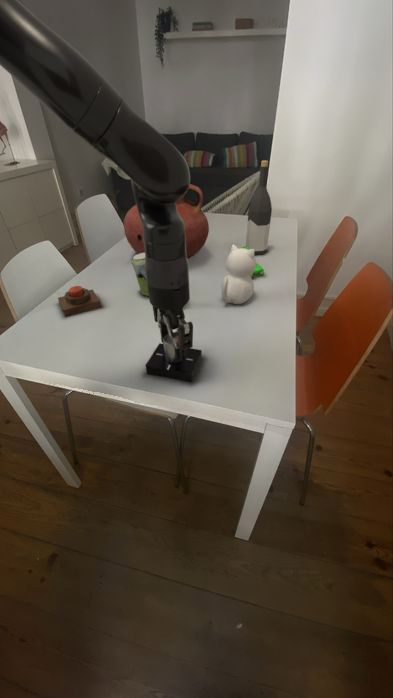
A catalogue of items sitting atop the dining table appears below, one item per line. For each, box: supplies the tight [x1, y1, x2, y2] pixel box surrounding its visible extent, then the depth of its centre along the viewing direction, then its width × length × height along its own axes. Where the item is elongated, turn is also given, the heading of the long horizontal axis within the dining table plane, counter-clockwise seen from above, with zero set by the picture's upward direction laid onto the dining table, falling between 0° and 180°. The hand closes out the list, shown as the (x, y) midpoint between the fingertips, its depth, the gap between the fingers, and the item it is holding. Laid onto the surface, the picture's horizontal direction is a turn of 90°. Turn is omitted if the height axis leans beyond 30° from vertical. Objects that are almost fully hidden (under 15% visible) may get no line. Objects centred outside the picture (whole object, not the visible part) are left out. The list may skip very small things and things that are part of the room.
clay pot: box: [123, 183, 210, 260], centre depth 109 cm, size 30×29×30 cm
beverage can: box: [131, 253, 149, 297], centre depth 93 cm, size 6×7×12 cm
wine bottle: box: [245, 160, 273, 256], centre depth 112 cm, size 8×8×30 cm
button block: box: [57, 287, 102, 318], centre depth 90 cm, size 10×8×4 cm
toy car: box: [237, 246, 265, 278], centre depth 105 cm, size 11×7×7 cm, turn 28°
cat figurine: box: [221, 243, 257, 305], centre depth 87 cm, size 9×12×15 cm
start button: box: [68, 285, 84, 297], centre depth 88 cm, size 4×4×2 cm
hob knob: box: [162, 334, 178, 363], centre depth 66 cm, size 4×4×5 cm
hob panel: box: [145, 342, 203, 383], centre depth 69 cm, size 10×8×3 cm
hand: (173, 350), depth 67 cm, fingers open, 6 cm apart
